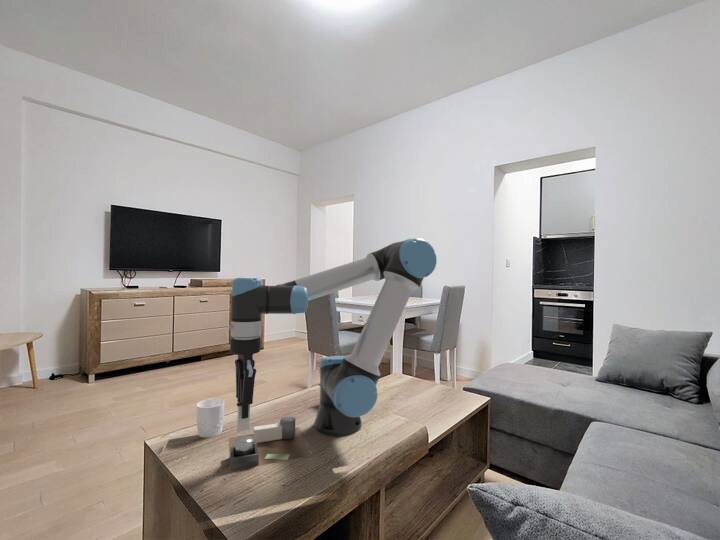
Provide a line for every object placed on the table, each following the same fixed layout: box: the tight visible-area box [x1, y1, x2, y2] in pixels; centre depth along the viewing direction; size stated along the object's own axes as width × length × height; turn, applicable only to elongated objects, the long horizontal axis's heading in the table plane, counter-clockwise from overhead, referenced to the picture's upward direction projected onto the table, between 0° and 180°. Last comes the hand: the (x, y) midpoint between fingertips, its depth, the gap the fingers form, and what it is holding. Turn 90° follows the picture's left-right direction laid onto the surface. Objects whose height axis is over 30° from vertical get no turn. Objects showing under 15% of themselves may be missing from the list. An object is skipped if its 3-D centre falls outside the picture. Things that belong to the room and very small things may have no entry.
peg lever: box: [253, 416, 296, 443], centre depth 99 cm, size 12×4×5 cm, turn 111°
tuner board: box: [229, 426, 313, 472], centre depth 95 cm, size 20×18×4 cm
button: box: [235, 435, 253, 456], centre depth 87 cm, size 4×4×3 cm
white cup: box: [195, 398, 226, 438], centre depth 103 cm, size 8×8×10 cm
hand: (243, 429), depth 87 cm, fingers closed
